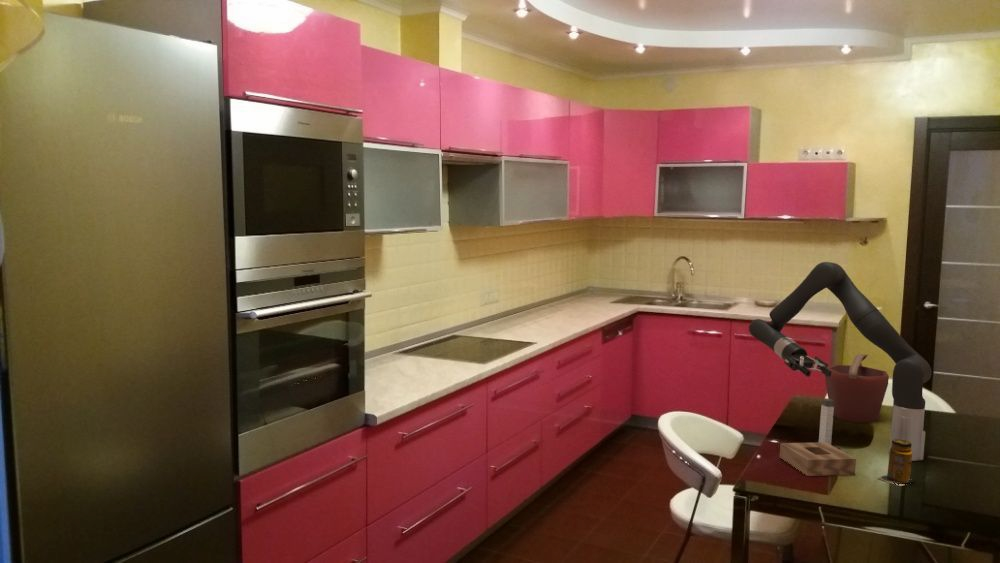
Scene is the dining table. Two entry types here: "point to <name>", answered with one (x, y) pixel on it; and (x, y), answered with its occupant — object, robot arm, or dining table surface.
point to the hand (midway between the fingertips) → (820, 374)
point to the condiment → (899, 462)
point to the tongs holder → (817, 459)
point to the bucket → (856, 391)
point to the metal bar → (826, 421)
